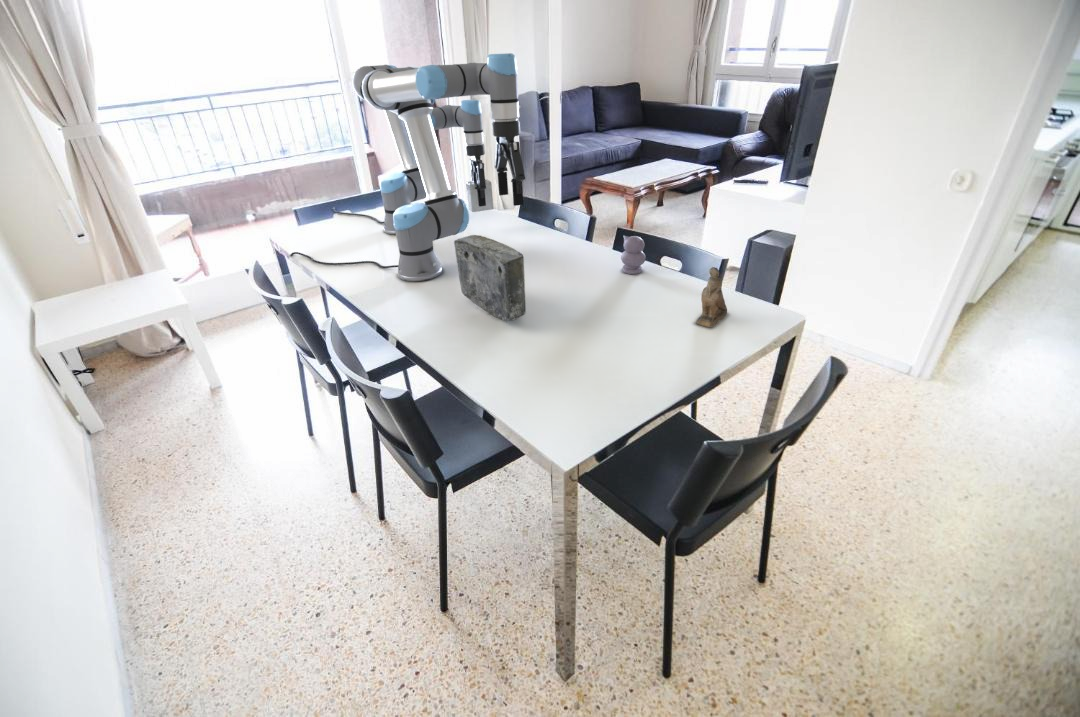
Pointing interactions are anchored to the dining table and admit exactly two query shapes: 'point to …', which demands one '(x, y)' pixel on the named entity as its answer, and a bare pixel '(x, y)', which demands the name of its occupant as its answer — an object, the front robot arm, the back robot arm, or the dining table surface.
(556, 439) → the dining table surface
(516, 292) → the concrete block
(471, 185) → the brick
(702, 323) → the worn brown figurine
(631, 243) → the cat figurine
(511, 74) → the front robot arm
